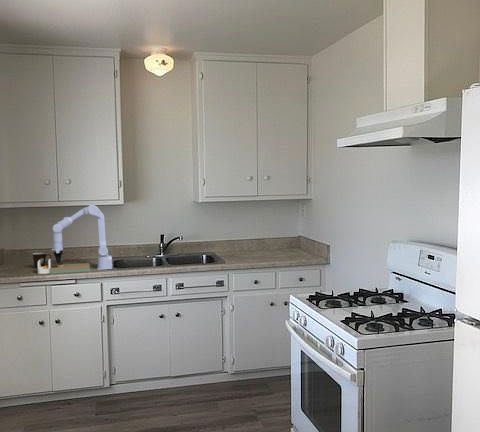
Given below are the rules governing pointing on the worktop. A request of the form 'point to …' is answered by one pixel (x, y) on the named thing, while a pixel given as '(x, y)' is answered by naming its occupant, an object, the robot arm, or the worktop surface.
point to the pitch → (63, 268)
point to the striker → (61, 263)
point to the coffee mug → (39, 257)
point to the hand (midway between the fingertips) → (58, 262)
